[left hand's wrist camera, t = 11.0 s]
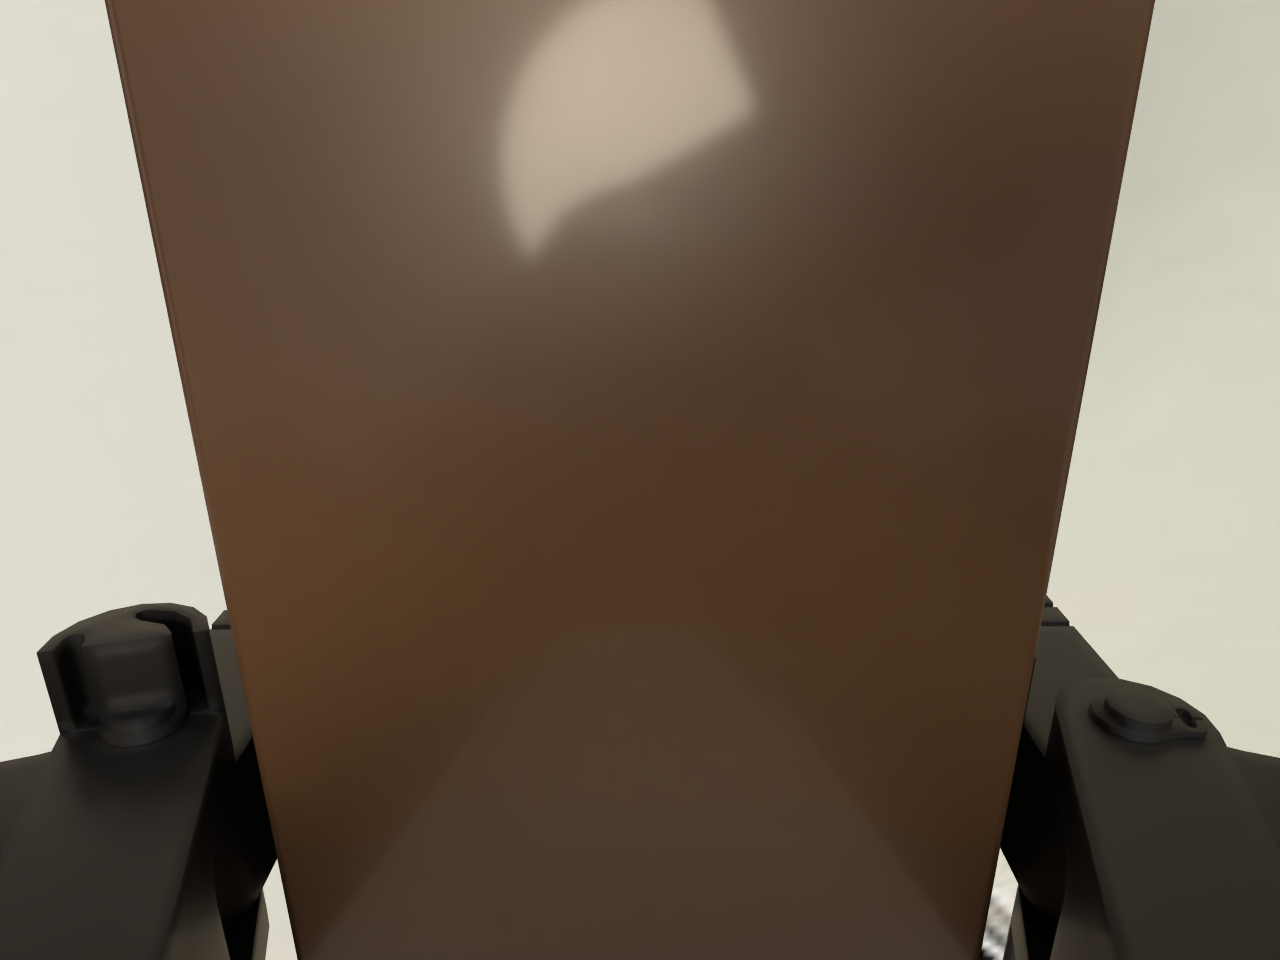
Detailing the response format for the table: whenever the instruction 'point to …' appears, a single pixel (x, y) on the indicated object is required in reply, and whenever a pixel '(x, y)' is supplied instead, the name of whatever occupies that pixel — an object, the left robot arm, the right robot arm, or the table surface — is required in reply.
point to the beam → (633, 445)
